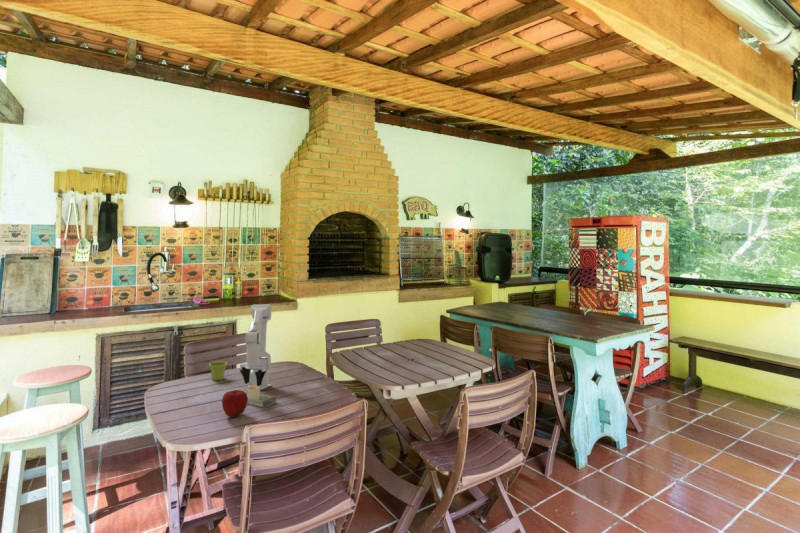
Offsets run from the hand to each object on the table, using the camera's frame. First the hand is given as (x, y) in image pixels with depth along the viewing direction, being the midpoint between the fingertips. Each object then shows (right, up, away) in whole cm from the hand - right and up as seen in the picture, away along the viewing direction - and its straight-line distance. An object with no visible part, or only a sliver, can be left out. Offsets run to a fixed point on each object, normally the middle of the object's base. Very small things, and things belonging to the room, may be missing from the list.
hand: (253, 384), depth 202 cm
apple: (-2, -9, -17) cm, 20 cm away
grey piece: (+3, -8, -1) cm, 9 cm away
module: (0, -8, 0) cm, 8 cm away
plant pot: (-32, -7, +34) cm, 47 cm away
